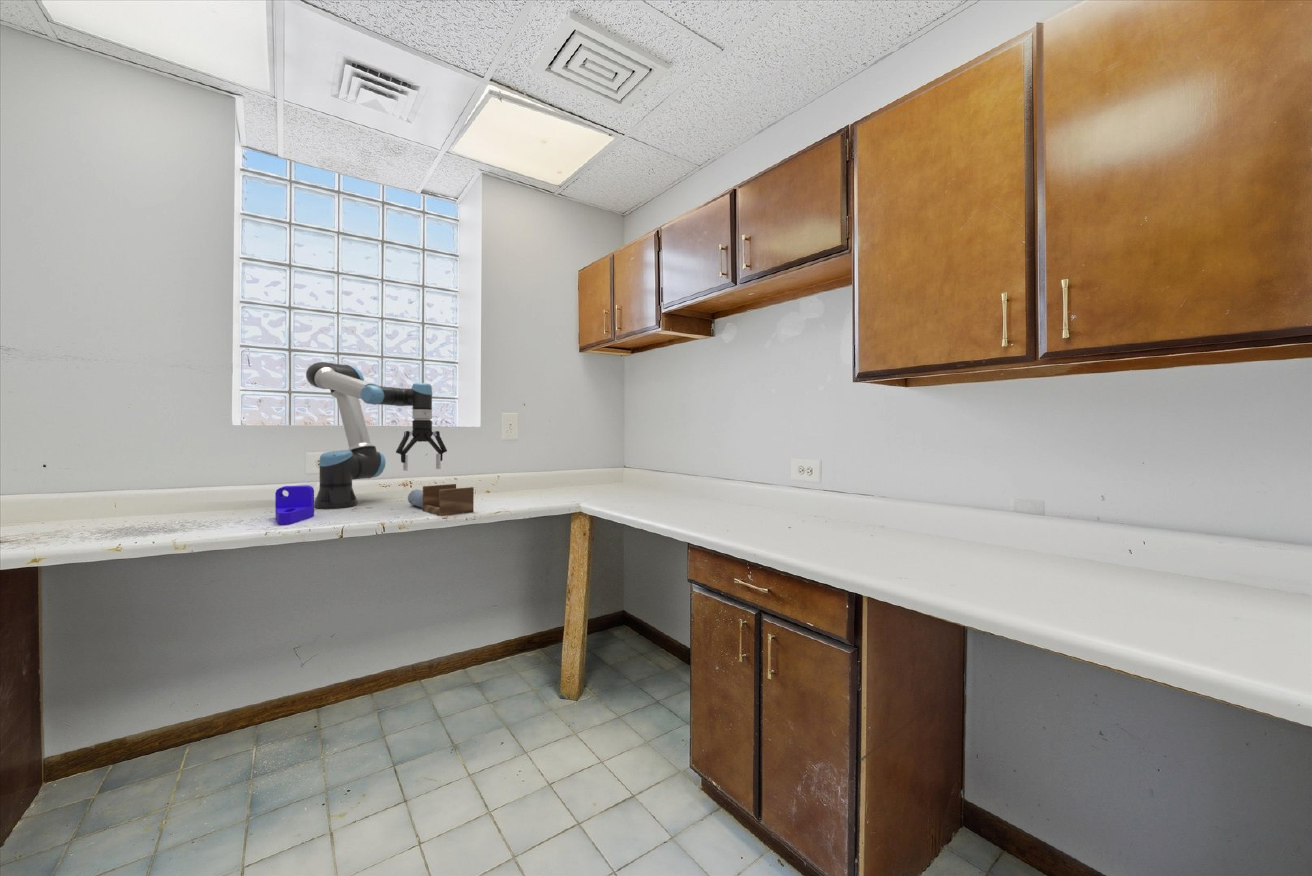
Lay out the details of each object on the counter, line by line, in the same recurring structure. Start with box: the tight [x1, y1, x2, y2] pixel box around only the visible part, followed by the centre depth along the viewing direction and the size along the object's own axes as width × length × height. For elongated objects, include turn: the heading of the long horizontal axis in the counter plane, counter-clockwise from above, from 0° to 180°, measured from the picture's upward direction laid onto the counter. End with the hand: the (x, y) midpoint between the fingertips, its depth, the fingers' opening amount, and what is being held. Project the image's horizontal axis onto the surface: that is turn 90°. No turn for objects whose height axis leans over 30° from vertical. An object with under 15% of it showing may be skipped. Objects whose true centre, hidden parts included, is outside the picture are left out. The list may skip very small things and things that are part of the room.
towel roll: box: [407, 489, 423, 509], centre depth 210 cm, size 12×7×7 cm, turn 48°
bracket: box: [274, 484, 315, 526], centre depth 177 cm, size 18×11×12 cm, turn 25°
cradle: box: [422, 483, 475, 517], centre depth 200 cm, size 16×13×10 cm
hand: (422, 469), depth 210 cm, fingers open, 13 cm apart
